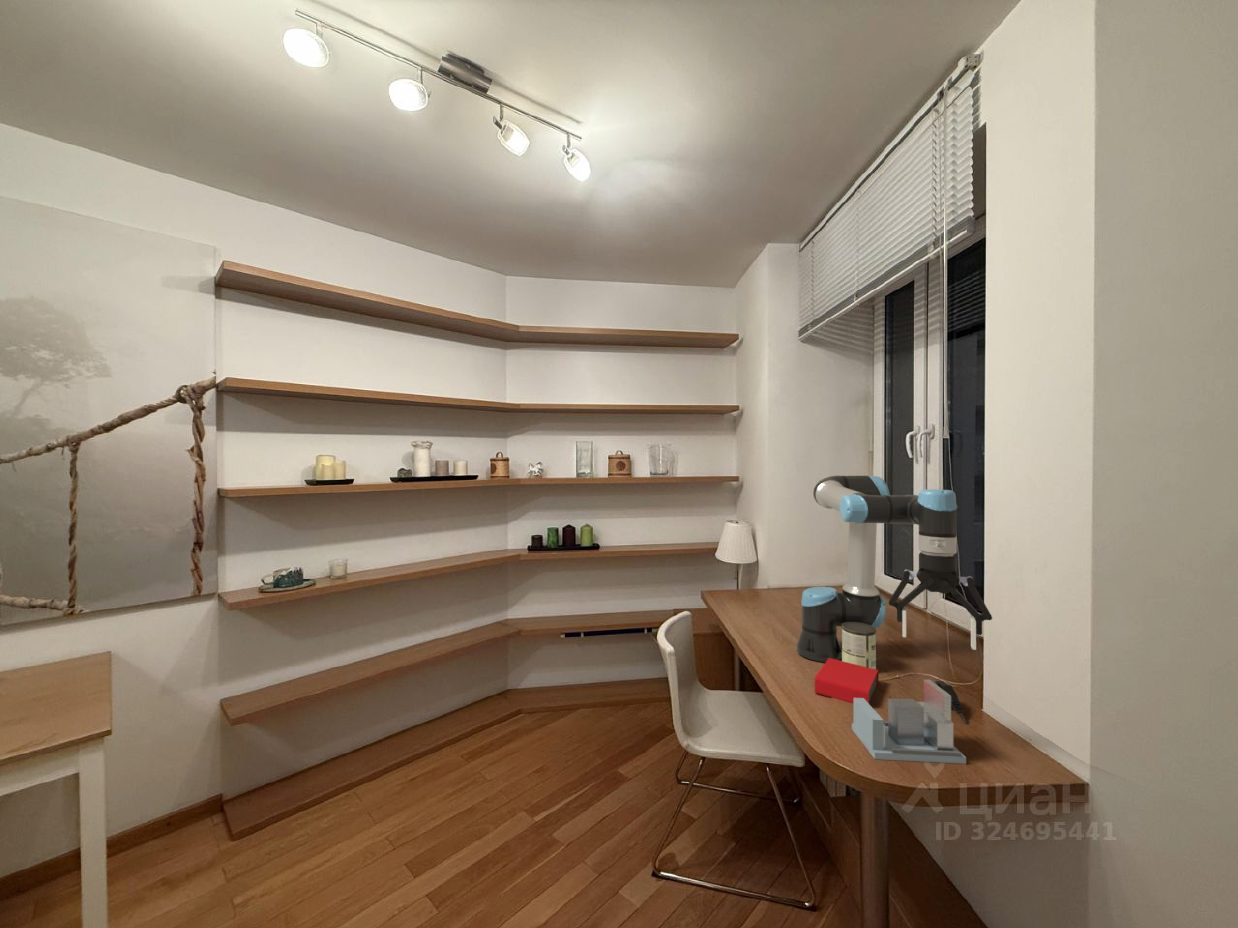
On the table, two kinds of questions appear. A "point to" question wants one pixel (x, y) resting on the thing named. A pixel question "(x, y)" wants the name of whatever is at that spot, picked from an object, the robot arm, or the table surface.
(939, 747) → the sliding jaw
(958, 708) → the power plug
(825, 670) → the red device housing
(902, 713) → the steel block
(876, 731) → the vise base
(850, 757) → the table surface
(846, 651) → the coffee can
